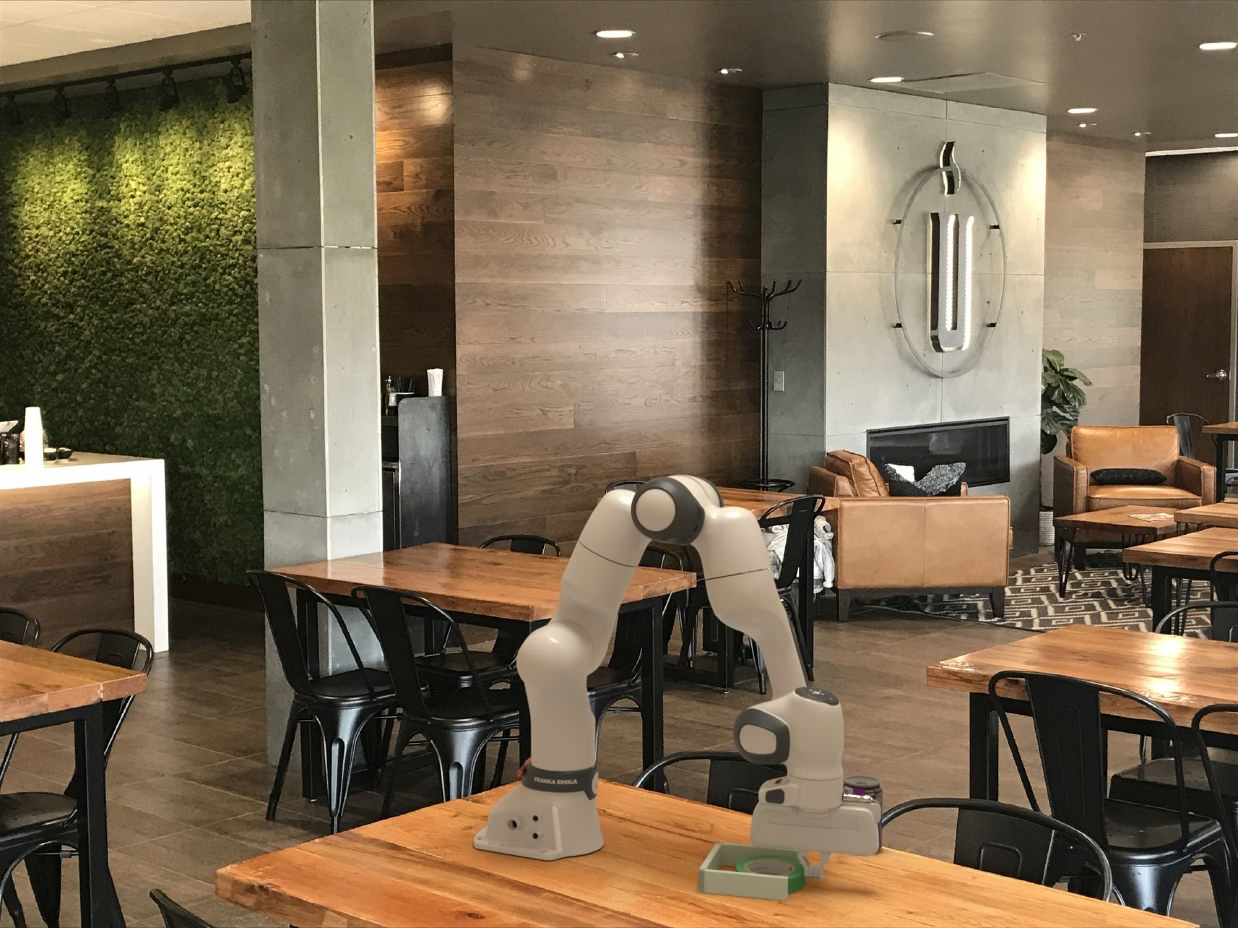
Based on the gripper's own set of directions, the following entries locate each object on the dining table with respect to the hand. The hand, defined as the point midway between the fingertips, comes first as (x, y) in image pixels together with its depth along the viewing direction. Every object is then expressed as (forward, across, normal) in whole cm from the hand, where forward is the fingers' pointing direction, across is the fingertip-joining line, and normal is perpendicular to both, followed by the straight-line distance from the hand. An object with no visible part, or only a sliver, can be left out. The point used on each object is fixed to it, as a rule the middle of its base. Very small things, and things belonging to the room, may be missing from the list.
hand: (813, 877), depth 232 cm
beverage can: (+2, -5, -21) cm, 22 cm away
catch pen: (+2, +10, 0) cm, 10 cm away
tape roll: (+2, +7, 0) cm, 7 cm away
